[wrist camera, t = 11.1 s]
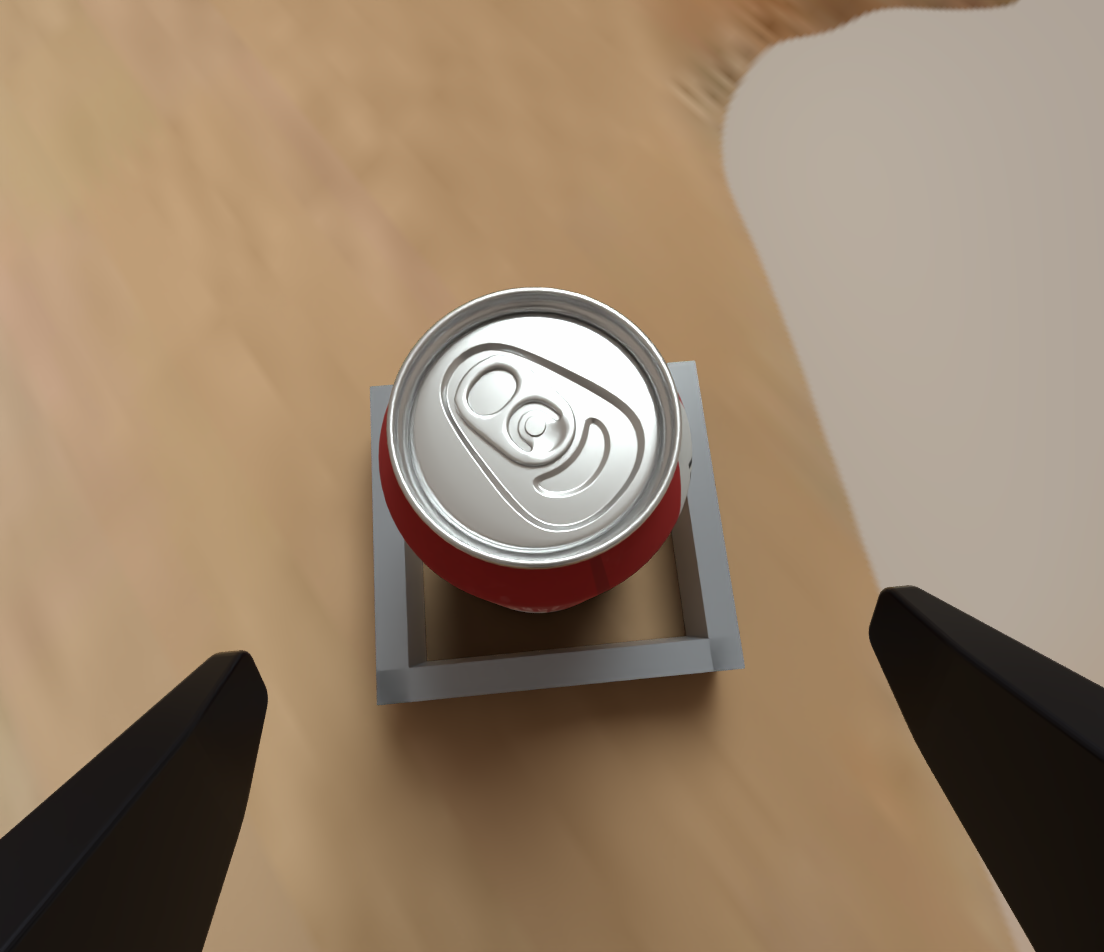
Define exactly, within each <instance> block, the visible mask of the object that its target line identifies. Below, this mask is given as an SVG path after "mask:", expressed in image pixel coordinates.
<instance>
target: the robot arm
mask: <svg viewBox="0 0 1104 952" xmlns="http://www.w3.org/2000/svg"><path fill="white" fill-rule="evenodd" d="M869 639H870V643H871V645H872V648H873V650H874V652H875V655H876V657H877V659H878V661H879V663H880V666H881V668H882V670H883V672H884V674H885V677H886V679H887V681H888V683H889V686H890V688H891V690H892V692H893V694H894V697H895V699H896V701H897V703H898V706H899V708H900V710H901V712H902V714H903V717H904V719H905V721H906V723H907V725H908V728H909V730H910V732H911V734H912V736H913V738H914V740H915V742H916V744H917V746H918V748H919V749H920V751H921V753H922V755H923V757H924V759H925V760H926V762H927V764H928V766H929V767H930V769H931V771H932V773H933V774H934V776H935V778H936V780H937V781H938V783H939V785H940V786H941V788H942V790H943V792H944V793H945V795H946V797H947V799H948V800H949V802H950V804H951V806H952V807H953V809H954V811H955V813H956V814H957V816H958V818H959V819H960V821H961V823H962V825H963V826H964V828H965V830H966V832H967V833H968V835H969V837H970V839H971V840H972V842H973V844H974V846H975V847H976V849H977V851H978V852H979V854H980V856H981V858H982V859H983V861H984V863H985V865H986V866H987V868H988V870H989V872H990V873H991V875H992V877H993V879H994V880H995V882H996V884H997V885H998V887H999V889H1000V891H1001V892H1002V894H1003V896H1004V898H1005V899H1006V901H1007V903H1008V904H1009V906H1010V908H1011V910H1012V911H1013V913H1014V915H1015V917H1016V918H1017V920H1018V922H1019V924H1020V925H1021V927H1022V929H1023V930H1024V932H1025V934H1026V936H1027V937H1028V939H1029V941H1030V943H1031V945H1032V946H1033V948H1034V950H1035V951H1036V952H1104V688H1103V687H1101V686H1100V685H1098V684H1096V683H1094V682H1092V681H1090V680H1088V679H1086V678H1085V677H1083V676H1081V675H1079V674H1077V673H1076V672H1073V671H1072V670H1070V669H1068V668H1066V667H1064V666H1063V665H1061V664H1059V663H1057V662H1055V661H1053V660H1052V659H1050V658H1048V657H1046V656H1044V655H1042V654H1040V653H1039V652H1037V651H1035V650H1033V649H1031V648H1029V647H1027V646H1026V645H1023V644H1022V643H1020V642H1018V641H1016V640H1015V639H1013V638H1011V637H1009V636H1007V635H1005V634H1003V633H1002V632H1000V631H998V630H996V629H994V628H992V627H990V626H989V625H987V624H985V623H983V622H981V621H979V620H977V619H976V618H974V617H972V616H970V615H968V614H966V613H964V612H963V611H961V610H959V609H957V608H955V607H953V606H952V605H950V604H947V603H946V602H944V601H942V600H940V599H939V598H936V597H935V596H933V595H931V594H929V593H927V592H925V591H924V590H922V589H920V588H918V587H915V586H909V585H907V586H896V587H887V588H885V589H883V590H882V591H881V592H880V595H879V597H878V600H877V604H876V607H875V610H874V613H873V616H872V619H871V622H870V626H869ZM267 704H268V694H267V689H266V686H265V684H264V682H263V680H262V678H261V675H260V673H259V671H258V669H257V667H256V665H255V662H254V660H253V658H252V656H251V655H250V654H249V653H248V652H247V651H243V650H239V651H229V652H220V653H216V654H214V655H212V656H211V657H210V658H208V659H207V660H206V661H205V662H204V663H203V664H201V665H200V666H199V667H198V668H197V669H196V670H195V671H193V672H192V673H191V674H190V675H189V676H188V677H186V678H185V679H184V680H183V681H182V682H181V683H180V684H178V685H177V686H176V687H175V688H174V689H173V690H171V691H170V692H169V693H168V694H167V695H166V696H165V697H163V698H162V699H161V700H160V701H159V702H158V703H157V704H155V705H154V706H153V707H152V708H151V709H150V710H148V711H147V712H146V713H145V714H144V715H143V716H142V717H140V718H139V719H138V720H137V721H136V722H135V723H134V724H132V725H131V726H130V727H129V728H128V729H127V730H125V731H124V732H123V733H122V734H121V735H120V736H119V737H117V738H116V739H115V740H114V741H113V742H112V743H110V744H109V745H108V746H107V747H106V748H105V749H104V750H102V751H101V752H100V753H99V754H98V755H97V756H96V757H94V758H93V759H92V760H91V761H90V762H89V763H87V764H86V765H85V766H84V767H83V768H82V769H81V770H79V771H78V772H77V773H76V774H75V775H74V776H72V777H71V778H70V779H69V780H68V781H67V782H66V783H64V784H63V785H62V786H61V787H60V788H59V789H58V790H56V791H55V792H54V793H53V794H52V795H51V796H49V797H48V798H47V799H46V800H45V801H44V802H43V803H41V804H40V805H39V806H38V807H37V808H36V809H34V810H33V811H32V812H31V813H30V814H29V815H28V816H26V817H25V818H24V819H23V820H22V821H21V822H20V823H18V824H17V825H16V826H15V827H14V828H13V829H11V830H10V831H9V832H8V833H7V834H6V835H5V836H3V837H2V838H1V839H0V952H202V950H203V947H204V943H205V940H206V937H207V934H208V931H209V928H210V924H211V921H212V918H213V915H214V912H215V909H216V905H217V902H218V899H219V896H220V893H221V890H222V886H223V883H224V880H225V877H226V874H227V871H228V867H229V864H230V861H231V858H232V855H233V852H234V848H235V845H236V842H237V839H238V836H239V832H240V829H241V825H242V822H243V819H244V815H245V810H246V806H247V802H248V798H249V793H250V788H251V783H252V778H253V773H254V768H255V763H256V759H257V754H258V749H259V744H260V739H261V734H262V729H263V724H264V719H265V715H266V710H267Z"/></svg>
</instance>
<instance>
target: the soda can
mask: <svg viewBox="0 0 1104 952" xmlns="http://www.w3.org/2000/svg"><path fill="white" fill-rule="evenodd" d="M378 459H379V473H380V480H381V486H382V490H383V494H384V497H385V501H386V504H387V507H388V509H389V512H390V514H391V517H392V519H393V521H394V523H395V525H396V527H397V528H398V530H399V532H400V533H401V535H402V537H403V538H404V540H405V541H406V543H407V544H408V545H409V547H410V548H411V549H412V550H413V551H414V553H415V554H416V555H417V556H418V557H419V558H420V559H421V560H422V561H423V562H424V563H425V564H426V565H427V566H428V567H429V568H430V569H431V570H433V571H434V572H435V573H436V574H437V575H439V576H440V577H441V578H443V579H444V580H446V581H447V582H449V583H450V584H452V585H453V586H455V587H457V588H459V589H461V590H463V591H465V592H467V593H469V594H471V595H474V596H476V597H479V598H481V599H484V600H487V601H490V602H492V603H495V604H498V605H501V606H504V607H507V608H510V609H513V610H517V611H522V612H528V613H549V612H556V611H560V610H564V609H567V608H570V607H573V606H575V605H577V604H579V603H582V602H584V601H586V600H588V599H590V598H592V597H595V596H597V595H599V594H601V593H603V592H605V591H608V590H610V589H611V588H613V587H615V586H617V585H618V584H620V583H622V582H623V581H625V580H626V579H627V578H629V577H630V576H632V575H633V574H634V573H636V572H637V571H638V570H639V569H640V568H641V567H642V566H643V565H645V564H646V563H647V562H648V561H649V560H650V559H651V558H652V556H653V555H654V554H655V553H656V552H657V551H658V550H659V549H660V547H661V546H662V544H663V543H664V542H665V540H666V539H667V538H668V536H669V534H670V533H671V531H672V529H673V527H674V526H675V524H676V522H677V520H678V518H679V515H680V513H681V511H682V508H683V505H684V502H685V499H686V496H687V493H688V488H689V484H690V478H691V470H692V442H691V433H690V428H689V423H688V419H687V415H686V412H685V409H684V406H683V403H682V401H681V398H680V396H679V394H678V392H677V389H676V385H675V382H674V380H673V377H672V375H671V372H670V370H669V368H668V366H667V364H666V362H665V360H664V359H663V357H662V355H661V354H660V352H659V351H658V349H657V348H656V347H655V345H654V344H653V343H652V342H651V340H650V339H649V338H648V337H647V336H646V335H645V334H644V333H643V332H642V330H641V329H640V328H639V327H638V326H636V325H635V324H634V323H633V322H632V321H630V320H629V319H628V318H627V317H625V316H624V315H622V314H621V313H620V312H618V311H617V310H615V309H613V308H611V307H610V306H608V305H606V304H604V303H602V302H600V301H598V300H596V299H593V298H591V297H588V296H585V295H582V294H580V293H576V292H572V291H568V290H562V289H556V288H547V287H522V288H512V289H507V290H502V291H497V292H494V293H490V294H487V295H484V296H481V297H479V298H476V299H473V300H471V301H469V302H467V303H465V304H463V305H461V306H459V307H458V308H456V309H454V310H453V311H451V312H449V313H448V314H447V315H445V316H444V317H443V318H441V319H440V320H439V321H437V322H436V323H435V324H434V325H433V326H432V327H431V328H430V329H428V330H427V331H426V333H425V334H424V335H423V336H422V337H421V338H420V339H419V340H418V341H417V343H416V344H415V345H414V347H413V348H412V349H411V351H410V352H409V354H408V356H407V357H406V359H405V360H404V362H403V364H402V366H401V368H400V370H399V372H398V374H397V377H396V379H395V382H394V385H393V388H392V391H391V395H390V399H389V403H388V406H387V409H386V412H385V415H384V419H383V423H382V427H381V433H380V439H379V455H378Z"/></svg>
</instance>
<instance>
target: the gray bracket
mask: <svg viewBox="0 0 1104 952" xmlns="http://www.w3.org/2000/svg"><path fill="white" fill-rule="evenodd" d="M667 366H668V368H669V370H670V372H671V375H672V377H673V380H674V382H675V385H676V389H677V392H678V394H679V396H680V398H681V401H682V403H683V406H684V409H685V412H686V415H687V419H688V423H689V428H690V433H691V442H692V470H691V478H690V484H689V488H688V493H687V496H686V499H685V502H684V505H683V508H682V511H681V513H680V515H679V518H678V520H677V522H676V524H675V526H674V527H673V529H672V531H671V532H672V539H673V546H674V553H675V560H676V567H677V574H678V581H679V589H680V596H681V603H682V610H683V617H684V624H685V631H686V636H681V637H671V638H660V639H650V640H640V641H630V642H620V643H609V644H599V645H589V646H579V647H569V648H558V649H548V650H538V651H528V652H518V653H508V654H497V655H487V656H477V657H467V658H457V659H446V660H436V661H427V654H426V630H425V605H424V581H423V561H422V560H421V559H420V558H419V557H418V556H417V555H416V554H415V553H414V551H413V550H412V549H411V548H410V547H409V545H408V544H407V543H406V541H405V540H404V538H403V537H402V535H401V533H400V532H399V530H398V528H397V527H396V525H395V523H394V521H393V519H392V517H391V514H390V512H389V509H388V507H387V504H386V501H385V497H384V494H383V490H382V486H381V480H380V473H379V459H378V455H379V439H380V433H381V427H382V423H383V419H384V415H385V412H386V409H387V406H388V403H389V399H390V395H391V391H392V388H393V385H384V386H372V387H370V408H371V454H372V499H373V544H374V589H375V635H376V680H377V705H385V704H395V703H405V702H415V701H425V700H435V699H445V698H455V697H465V696H475V695H485V694H495V693H505V692H515V691H525V690H534V689H544V688H554V687H564V686H574V685H584V684H594V683H604V682H614V681H624V680H634V679H644V678H654V677H664V676H673V675H683V674H693V673H703V672H713V671H723V670H733V669H743V668H745V665H744V659H743V653H742V647H741V640H740V634H739V628H738V622H737V616H736V610H735V604H734V597H733V591H732V585H731V579H730V573H729V567H728V560H727V554H726V548H725V542H724V536H723V530H722V524H721V517H720V511H719V505H718V499H717V493H716V487H715V481H714V474H713V468H712V462H711V456H710V450H709V444H708V437H707V431H706V425H705V419H704V413H703V407H702V401H701V394H700V388H699V382H698V376H697V370H696V364H695V361H685V362H673V363H667Z"/></svg>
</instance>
